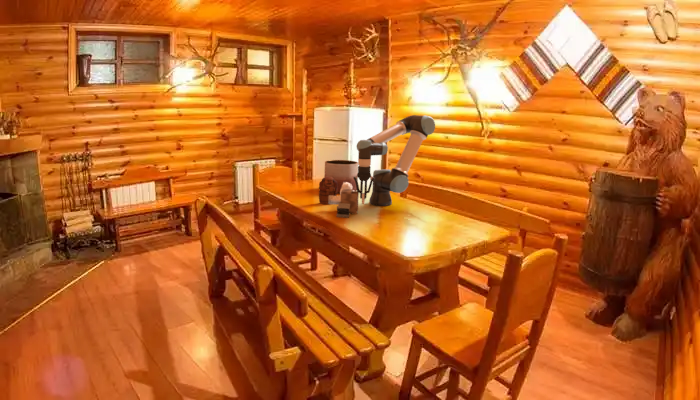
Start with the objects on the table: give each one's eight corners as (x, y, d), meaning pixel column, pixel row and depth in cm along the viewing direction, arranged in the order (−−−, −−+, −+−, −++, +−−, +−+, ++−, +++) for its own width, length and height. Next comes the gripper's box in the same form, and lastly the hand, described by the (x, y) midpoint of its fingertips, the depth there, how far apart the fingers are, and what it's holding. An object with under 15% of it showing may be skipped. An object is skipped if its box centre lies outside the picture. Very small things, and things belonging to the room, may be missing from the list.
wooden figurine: (321, 204, 284) (322, 177, 280) (318, 202, 289) (318, 176, 285) (338, 203, 289) (338, 176, 285) (334, 201, 294) (334, 175, 291)
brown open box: (358, 209, 273) (358, 189, 271) (356, 213, 264) (357, 192, 261) (342, 209, 274) (342, 188, 272) (340, 212, 265) (340, 192, 262)
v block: (350, 213, 263) (350, 203, 262) (348, 217, 254) (348, 207, 252) (338, 213, 264) (338, 202, 262) (336, 217, 254) (336, 206, 253)
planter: (350, 195, 315) (351, 165, 311) (318, 192, 324) (319, 162, 319) (361, 189, 339) (362, 161, 334) (332, 186, 347) (332, 159, 342)
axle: (358, 204, 270) (358, 196, 269) (357, 206, 265) (357, 197, 264) (329, 203, 272) (329, 194, 271) (328, 204, 267) (328, 195, 266)
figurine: (343, 201, 296) (343, 184, 293) (336, 198, 304) (337, 181, 302) (356, 200, 300) (356, 183, 298) (349, 197, 309) (350, 180, 306)
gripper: (375, 165, 265) (374, 202, 270) (354, 164, 266) (353, 201, 272) (374, 167, 258) (373, 205, 263) (352, 166, 259) (351, 204, 264)
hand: (363, 203), depth 267 cm, fingers closed
